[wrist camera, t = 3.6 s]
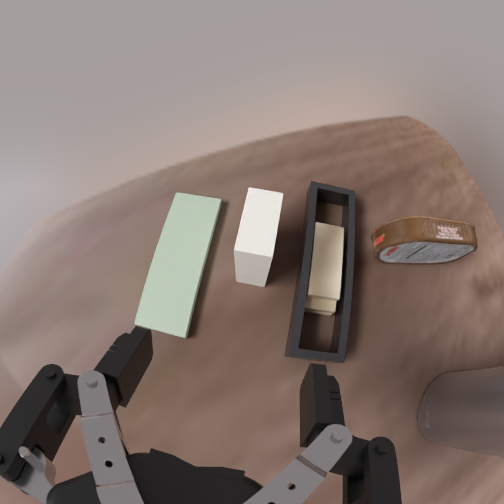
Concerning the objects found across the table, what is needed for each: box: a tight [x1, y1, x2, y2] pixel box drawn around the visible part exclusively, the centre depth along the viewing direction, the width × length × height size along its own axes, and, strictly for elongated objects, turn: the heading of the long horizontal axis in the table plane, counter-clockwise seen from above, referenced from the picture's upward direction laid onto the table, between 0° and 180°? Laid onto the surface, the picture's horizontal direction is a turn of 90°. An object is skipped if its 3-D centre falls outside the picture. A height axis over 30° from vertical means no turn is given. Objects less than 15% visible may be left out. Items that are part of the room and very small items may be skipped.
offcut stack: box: [304, 222, 344, 316], centre depth 29 cm, size 3×10×3 cm, turn 170°
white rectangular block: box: [234, 187, 283, 287], centre depth 26 cm, size 3×6×8 cm, turn 169°
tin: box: [371, 216, 478, 264], centre depth 27 cm, size 15×3×8 cm, turn 89°
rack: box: [285, 181, 355, 363], centre depth 29 cm, size 6×20×2 cm, turn 169°
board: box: [134, 192, 222, 338], centre depth 29 cm, size 6×16×1 cm, turn 169°
